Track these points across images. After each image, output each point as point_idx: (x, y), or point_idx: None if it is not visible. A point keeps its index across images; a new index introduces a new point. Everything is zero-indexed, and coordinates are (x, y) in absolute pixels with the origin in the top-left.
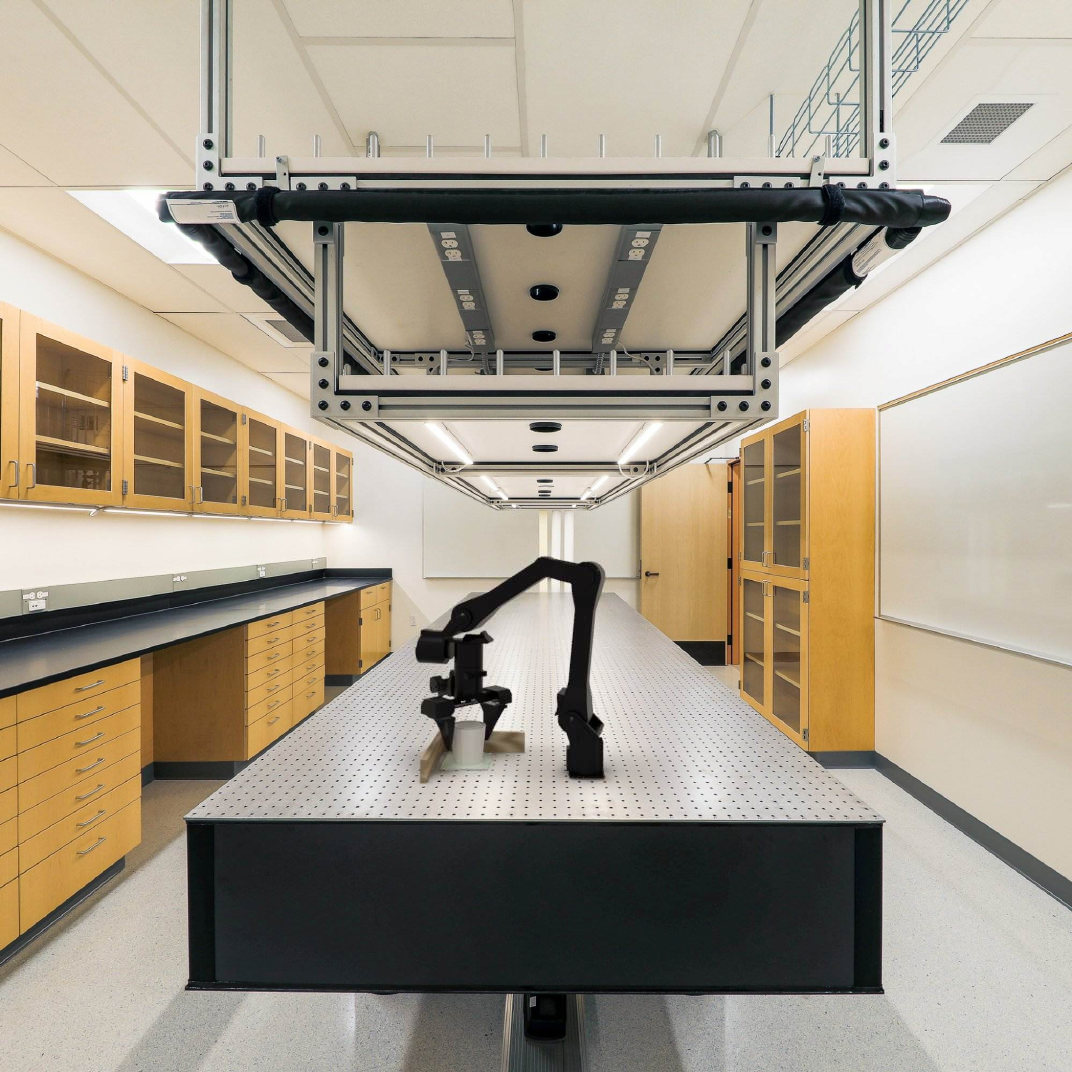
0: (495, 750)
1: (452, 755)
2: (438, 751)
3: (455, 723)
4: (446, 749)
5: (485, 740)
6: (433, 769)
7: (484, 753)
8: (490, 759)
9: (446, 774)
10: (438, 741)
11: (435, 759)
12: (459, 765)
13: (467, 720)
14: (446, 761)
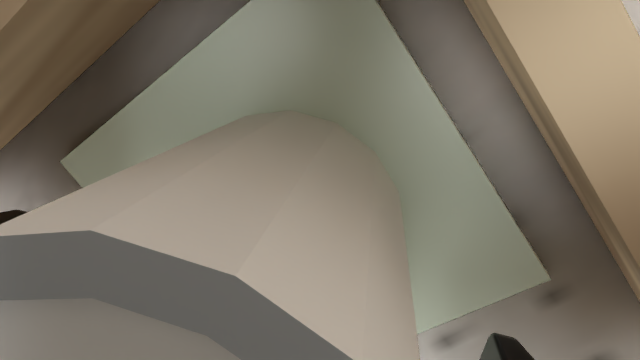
0: (624, 272)
1: (293, 34)
2: (98, 13)
3: (10, 294)
4: (21, 213)
5: (617, 247)
6: (25, 124)
7: (504, 233)
8: None
9: None
10: (9, 27)
11: (32, 92)
12: None
13: (340, 357)
14: (164, 101)
